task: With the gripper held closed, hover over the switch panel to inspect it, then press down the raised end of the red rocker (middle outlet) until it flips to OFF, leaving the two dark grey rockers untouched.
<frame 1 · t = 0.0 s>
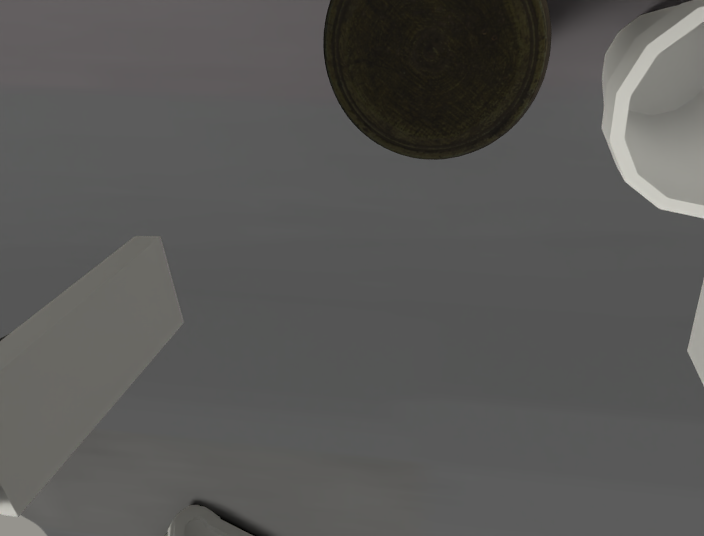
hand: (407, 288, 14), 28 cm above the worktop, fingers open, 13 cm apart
foam cup: (656, 63, 35), on the worktop
container: (460, 8, 36), on the worktop
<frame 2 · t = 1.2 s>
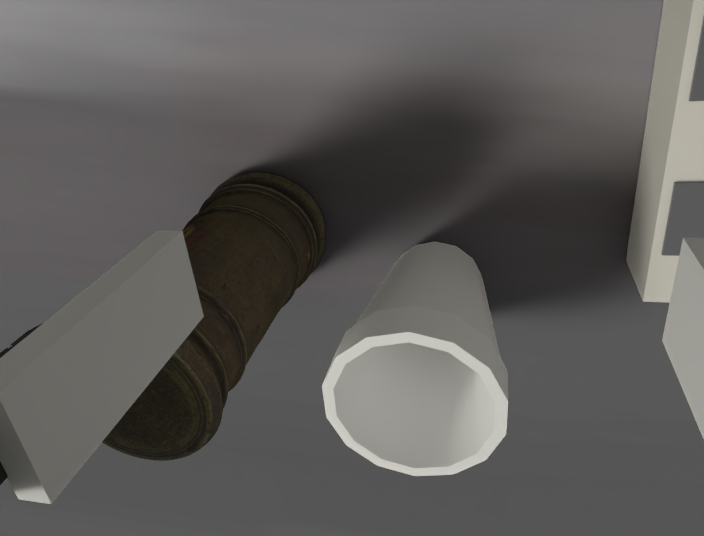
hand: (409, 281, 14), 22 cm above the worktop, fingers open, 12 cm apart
foam cup: (436, 280, 40), on the worktop
container: (267, 228, 41), on the worktop
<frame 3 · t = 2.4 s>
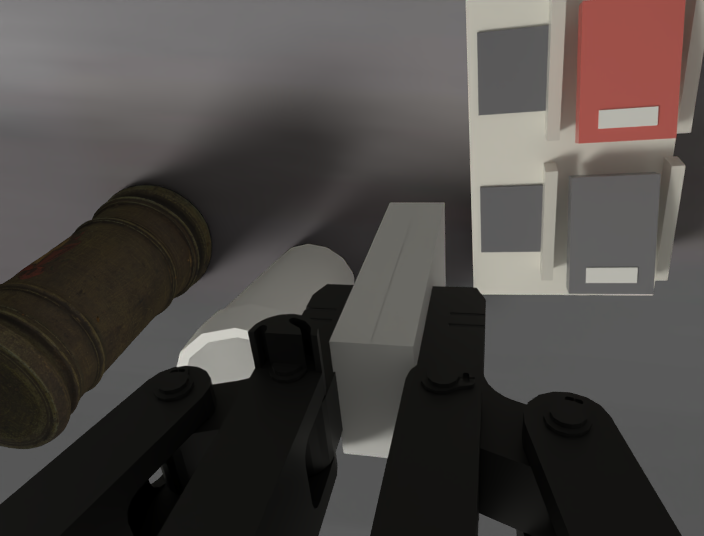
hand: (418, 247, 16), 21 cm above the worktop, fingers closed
rocker 3: (610, 234, 29), point 7 cm above the worktop, hinge at -15.0°
foam cup: (315, 279, 43), on the worktop
container: (160, 235, 44), on the worktop
switch panel: (562, 50, 32), on the worktop
rocker 2: (627, 71, 25), point 7 cm above the worktop, hinge at -15.0°
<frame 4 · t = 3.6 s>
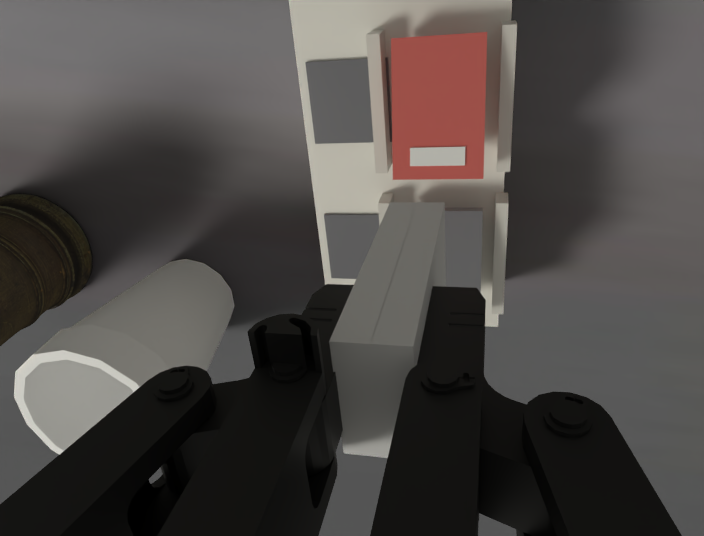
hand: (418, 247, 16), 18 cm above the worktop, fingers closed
rocker 3: (441, 267, 29), point 7 cm above the worktop, hinge at -15.0°
foam cup: (196, 294, 43), on the worktop
container: (42, 244, 44), on the worktop
switch panel: (413, 78, 32), on the worktop
rocker 2: (438, 109, 25), point 7 cm above the worktop, hinge at -15.0°
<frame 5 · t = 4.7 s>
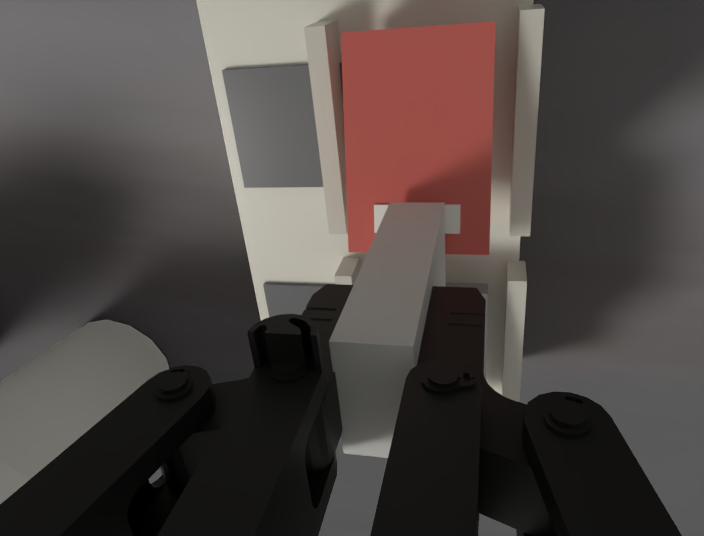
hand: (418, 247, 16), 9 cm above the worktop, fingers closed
rocker 3: (426, 370, 20), point 7 cm above the worktop, hinge at -15.0°
foam cup: (124, 361, 34), on the worktop
switch panel: (389, 91, 22), on the worktop
rocker 2: (418, 144, 16), point 7 cm above the worktop, hinge at -14.8°, touching gripper
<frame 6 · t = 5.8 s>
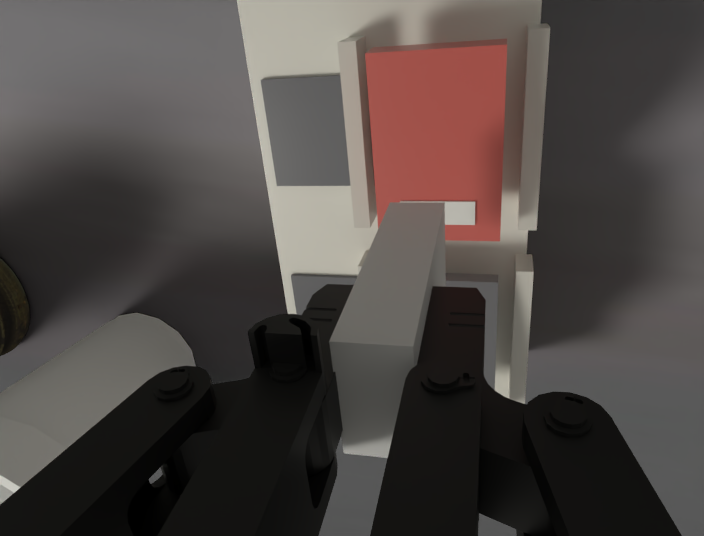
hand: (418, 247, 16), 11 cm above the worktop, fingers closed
rocker 3: (441, 353, 22), point 7 cm above the worktop, hinge at -15.0°
foam cup: (151, 353, 36), on the worktop
switch panel: (408, 101, 25), on the worktop
rocker 2: (437, 146, 18), point 7 cm above the worktop, hinge at 1.0°
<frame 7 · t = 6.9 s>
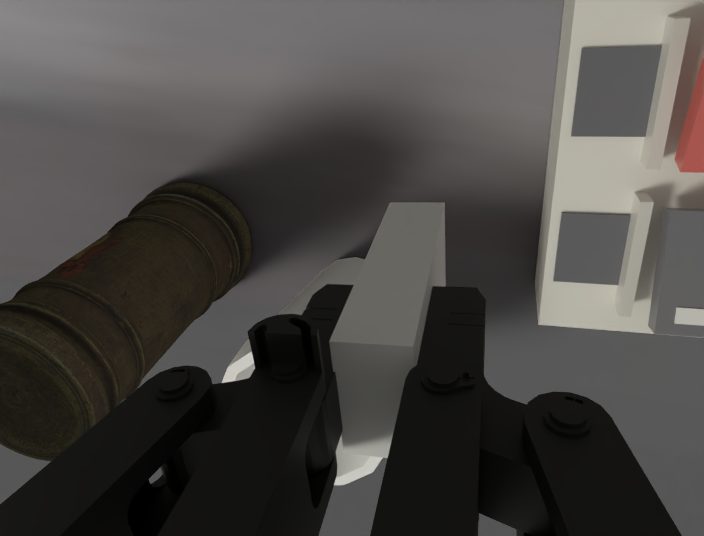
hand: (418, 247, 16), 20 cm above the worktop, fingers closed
foam cup: (358, 295, 41), on the worktop
container: (197, 236, 42), on the worktop
switch panel: (656, 74, 30), on the worktop
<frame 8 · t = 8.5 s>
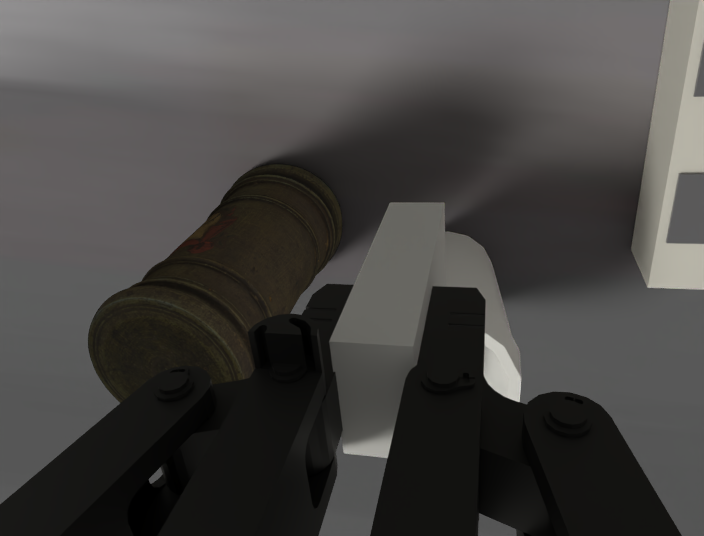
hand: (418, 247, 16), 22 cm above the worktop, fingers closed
foam cup: (448, 269, 42), on the worktop
container: (286, 218, 42), on the worktop
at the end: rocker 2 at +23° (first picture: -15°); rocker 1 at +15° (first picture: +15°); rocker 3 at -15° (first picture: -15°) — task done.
